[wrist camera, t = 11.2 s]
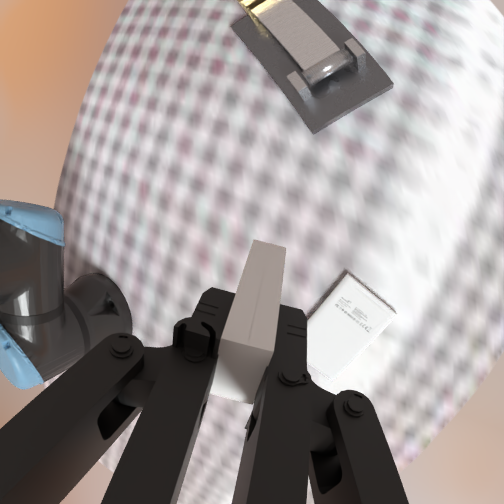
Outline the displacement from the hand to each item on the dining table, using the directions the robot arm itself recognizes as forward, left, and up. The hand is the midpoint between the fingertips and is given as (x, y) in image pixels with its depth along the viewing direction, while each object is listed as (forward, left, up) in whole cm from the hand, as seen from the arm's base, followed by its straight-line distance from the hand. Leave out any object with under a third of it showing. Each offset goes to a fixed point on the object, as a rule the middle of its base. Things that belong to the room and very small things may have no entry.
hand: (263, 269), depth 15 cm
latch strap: (-3, +19, -20) cm, 28 cm away
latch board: (-7, +22, -24) cm, 34 cm away
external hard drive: (+6, -11, -25) cm, 28 cm away
